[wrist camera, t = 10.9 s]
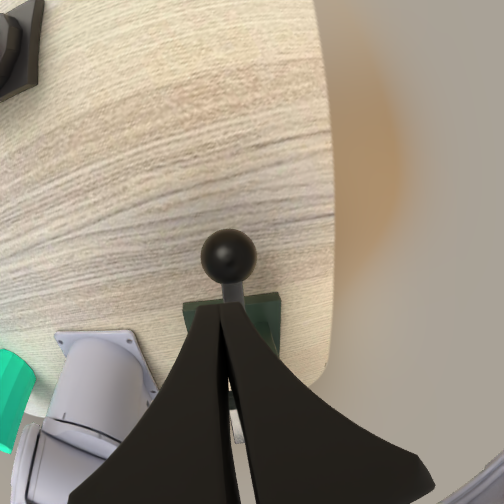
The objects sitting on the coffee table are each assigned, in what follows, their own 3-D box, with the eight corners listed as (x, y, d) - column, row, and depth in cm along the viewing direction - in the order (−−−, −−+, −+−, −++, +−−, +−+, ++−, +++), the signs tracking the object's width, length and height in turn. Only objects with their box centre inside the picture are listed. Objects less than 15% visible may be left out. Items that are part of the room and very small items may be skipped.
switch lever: (199, 233, 16) (195, 230, 13) (250, 227, 17) (257, 224, 14) (226, 421, 17) (229, 447, 14) (269, 416, 17) (278, 440, 14)
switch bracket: (182, 302, 20) (178, 413, 12) (278, 291, 21) (319, 394, 12) (200, 371, 23) (205, 464, 15) (276, 362, 24) (303, 450, 16)
